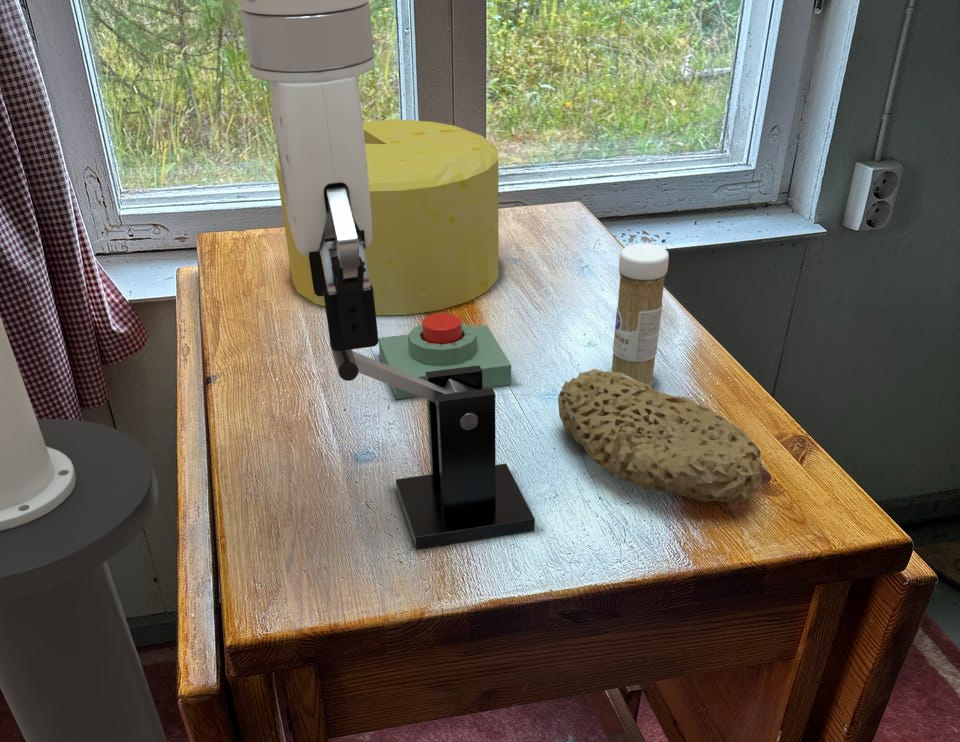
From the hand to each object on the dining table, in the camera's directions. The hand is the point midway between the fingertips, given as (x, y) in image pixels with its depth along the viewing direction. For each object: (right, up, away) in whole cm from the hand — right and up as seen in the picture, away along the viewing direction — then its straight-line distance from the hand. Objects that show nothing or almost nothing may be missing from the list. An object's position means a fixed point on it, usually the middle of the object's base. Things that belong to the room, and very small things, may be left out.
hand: (344, 318), depth 69 cm
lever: (+4, -4, +5) cm, 8 cm away
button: (+6, +8, +31) cm, 32 cm away
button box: (+6, +5, +33) cm, 34 cm away
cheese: (-1, +23, +53) cm, 58 cm away
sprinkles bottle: (+25, +3, +30) cm, 40 cm away
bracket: (+8, -12, +13) cm, 20 cm away
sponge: (+25, -8, +18) cm, 32 cm away
